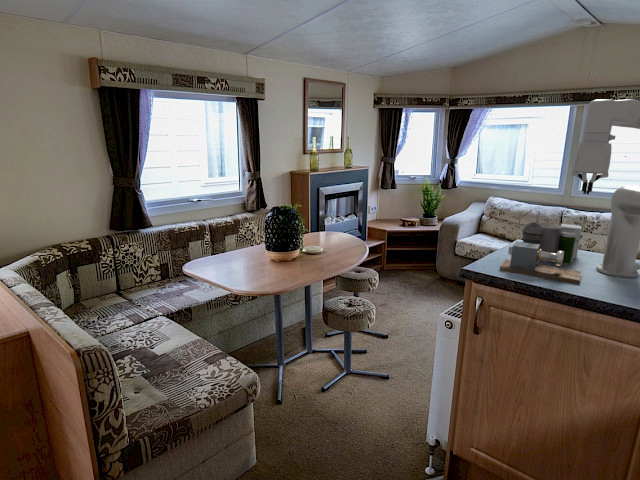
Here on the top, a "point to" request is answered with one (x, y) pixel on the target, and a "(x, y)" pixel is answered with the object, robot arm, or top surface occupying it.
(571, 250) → the beer can
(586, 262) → the top surface
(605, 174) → the robot arm
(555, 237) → the pillar candle
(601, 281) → the top surface
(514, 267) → the machine model
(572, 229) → the supplement box
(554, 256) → the shaft
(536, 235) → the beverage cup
